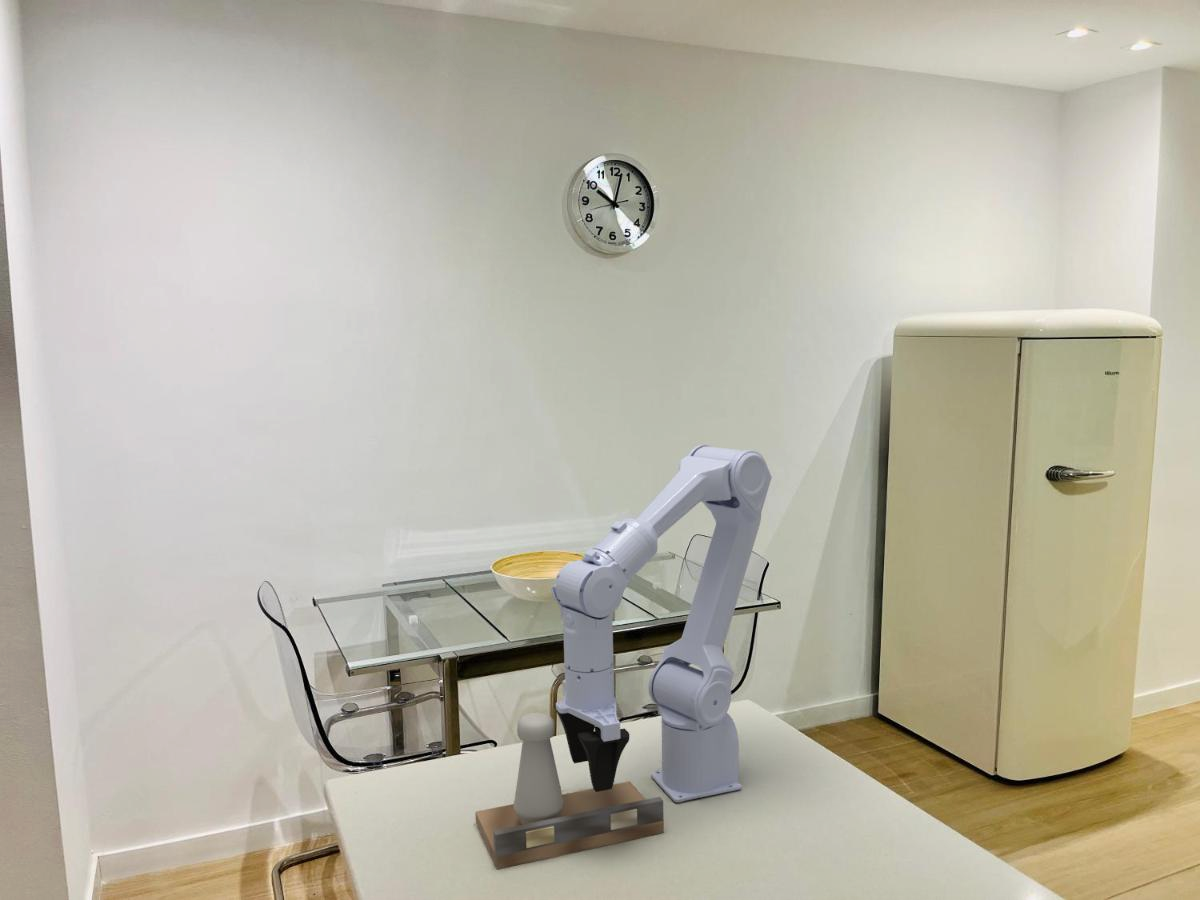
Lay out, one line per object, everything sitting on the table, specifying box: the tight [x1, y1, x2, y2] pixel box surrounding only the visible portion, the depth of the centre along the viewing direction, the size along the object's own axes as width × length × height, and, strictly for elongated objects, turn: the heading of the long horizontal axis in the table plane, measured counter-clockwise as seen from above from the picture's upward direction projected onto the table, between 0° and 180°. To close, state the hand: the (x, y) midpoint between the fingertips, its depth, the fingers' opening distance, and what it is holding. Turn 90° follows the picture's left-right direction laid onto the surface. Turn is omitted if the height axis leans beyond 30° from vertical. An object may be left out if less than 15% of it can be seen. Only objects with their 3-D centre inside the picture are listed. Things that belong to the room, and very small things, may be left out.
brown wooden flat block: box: [474, 780, 665, 870], centre depth 110 cm, size 20×11×4 cm, turn 110°
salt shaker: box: [513, 712, 563, 825], centre depth 108 cm, size 6×6×13 cm
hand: (591, 774), depth 110 cm, fingers open, 7 cm apart
